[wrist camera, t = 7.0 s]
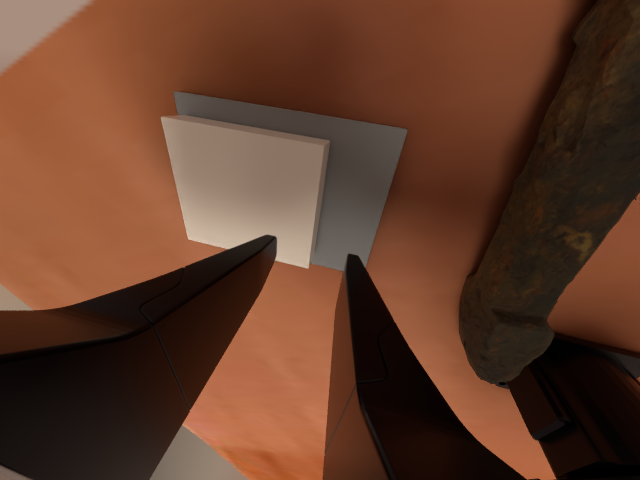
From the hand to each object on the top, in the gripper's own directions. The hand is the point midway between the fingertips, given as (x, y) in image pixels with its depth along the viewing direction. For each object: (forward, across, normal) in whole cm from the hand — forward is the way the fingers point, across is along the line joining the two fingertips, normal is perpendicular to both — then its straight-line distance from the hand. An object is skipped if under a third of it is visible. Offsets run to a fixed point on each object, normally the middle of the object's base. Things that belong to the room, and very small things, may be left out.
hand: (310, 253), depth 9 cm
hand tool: (+6, -10, -1) cm, 12 cm away
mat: (+6, +3, 0) cm, 6 cm away
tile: (+4, +1, 0) cm, 4 cm away
